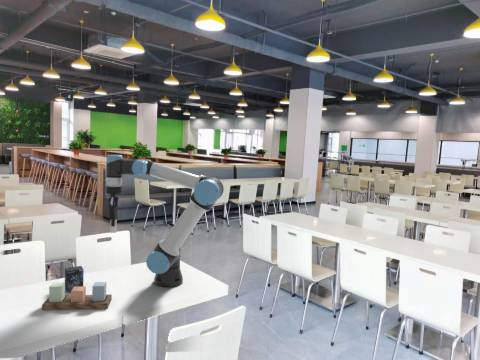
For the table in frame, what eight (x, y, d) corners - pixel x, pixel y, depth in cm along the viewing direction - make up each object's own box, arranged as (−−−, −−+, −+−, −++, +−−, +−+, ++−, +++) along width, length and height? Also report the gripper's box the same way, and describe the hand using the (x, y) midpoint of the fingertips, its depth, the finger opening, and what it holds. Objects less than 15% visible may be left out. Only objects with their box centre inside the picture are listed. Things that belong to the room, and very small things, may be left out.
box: (66, 292, 181) (66, 271, 181) (64, 288, 186) (64, 267, 185) (83, 289, 186) (83, 268, 185) (81, 285, 191) (81, 265, 190)
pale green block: (64, 297, 170) (64, 282, 169) (61, 301, 165) (61, 286, 164) (53, 297, 169) (53, 282, 168) (49, 302, 164) (49, 286, 163)
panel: (111, 299, 175) (111, 294, 175) (107, 308, 166) (107, 303, 165) (50, 300, 171) (50, 295, 171) (42, 310, 161) (42, 304, 161)
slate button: (106, 296, 172) (106, 282, 172) (103, 301, 167) (104, 286, 167) (94, 296, 172) (94, 282, 171) (92, 301, 167) (92, 286, 166)
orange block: (85, 301, 171) (85, 286, 171) (82, 305, 166) (82, 290, 166) (74, 301, 170) (74, 286, 170) (70, 306, 165) (70, 290, 165)
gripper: (108, 184, 192) (108, 229, 194) (103, 187, 179) (102, 235, 181) (123, 184, 193) (123, 229, 195) (119, 187, 180) (118, 235, 182)
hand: (113, 232), depth 188 cm, fingers closed
